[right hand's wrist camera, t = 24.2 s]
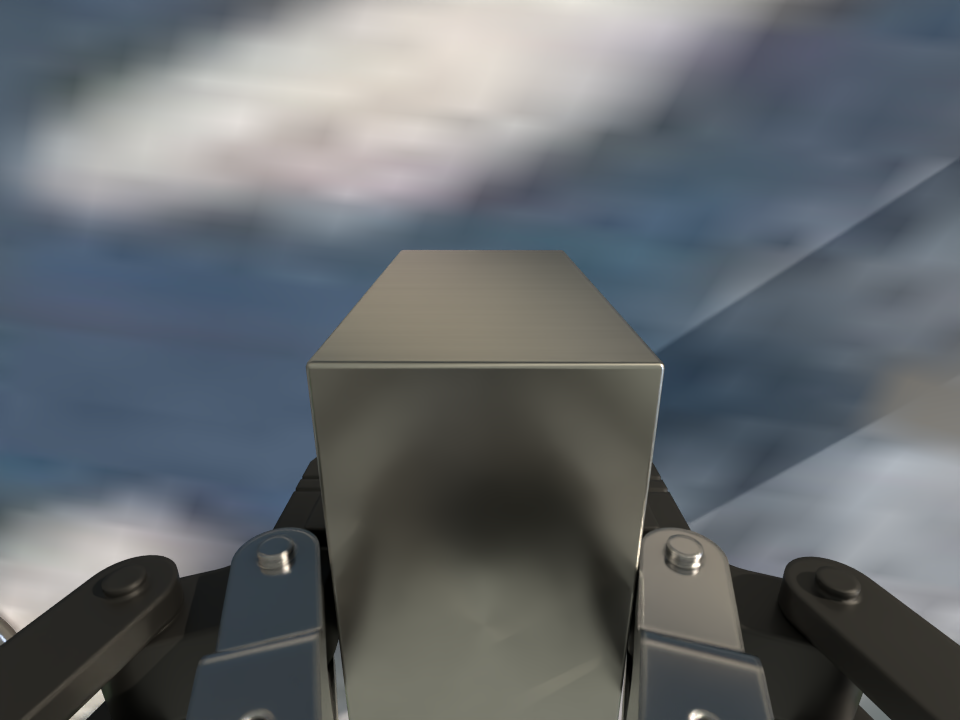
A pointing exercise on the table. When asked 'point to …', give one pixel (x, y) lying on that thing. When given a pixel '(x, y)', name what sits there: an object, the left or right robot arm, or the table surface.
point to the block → (484, 487)
